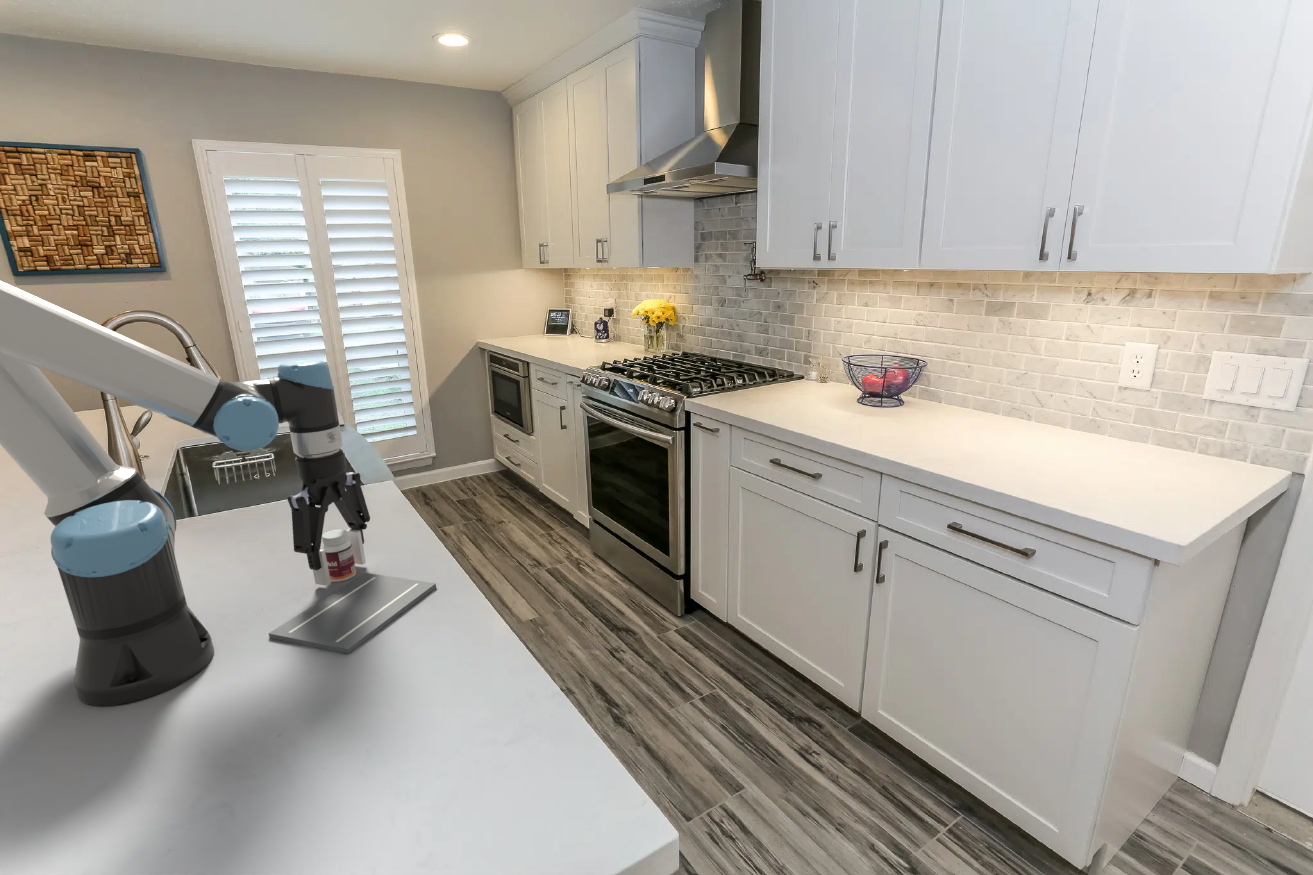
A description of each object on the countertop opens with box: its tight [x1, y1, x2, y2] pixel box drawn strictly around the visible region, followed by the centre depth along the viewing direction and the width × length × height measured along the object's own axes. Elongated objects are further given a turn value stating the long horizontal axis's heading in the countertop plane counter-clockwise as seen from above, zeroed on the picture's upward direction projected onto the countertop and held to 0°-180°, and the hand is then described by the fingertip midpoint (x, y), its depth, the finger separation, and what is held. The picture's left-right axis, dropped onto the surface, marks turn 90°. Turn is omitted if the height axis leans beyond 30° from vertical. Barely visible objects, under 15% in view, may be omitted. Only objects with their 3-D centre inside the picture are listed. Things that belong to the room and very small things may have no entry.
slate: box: [268, 572, 437, 655], centre depth 103 cm, size 20×15×1 cm
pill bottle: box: [321, 528, 357, 583], centre depth 114 cm, size 5×5×8 cm
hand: (341, 572), depth 115 cm, fingers open, 8 cm apart
